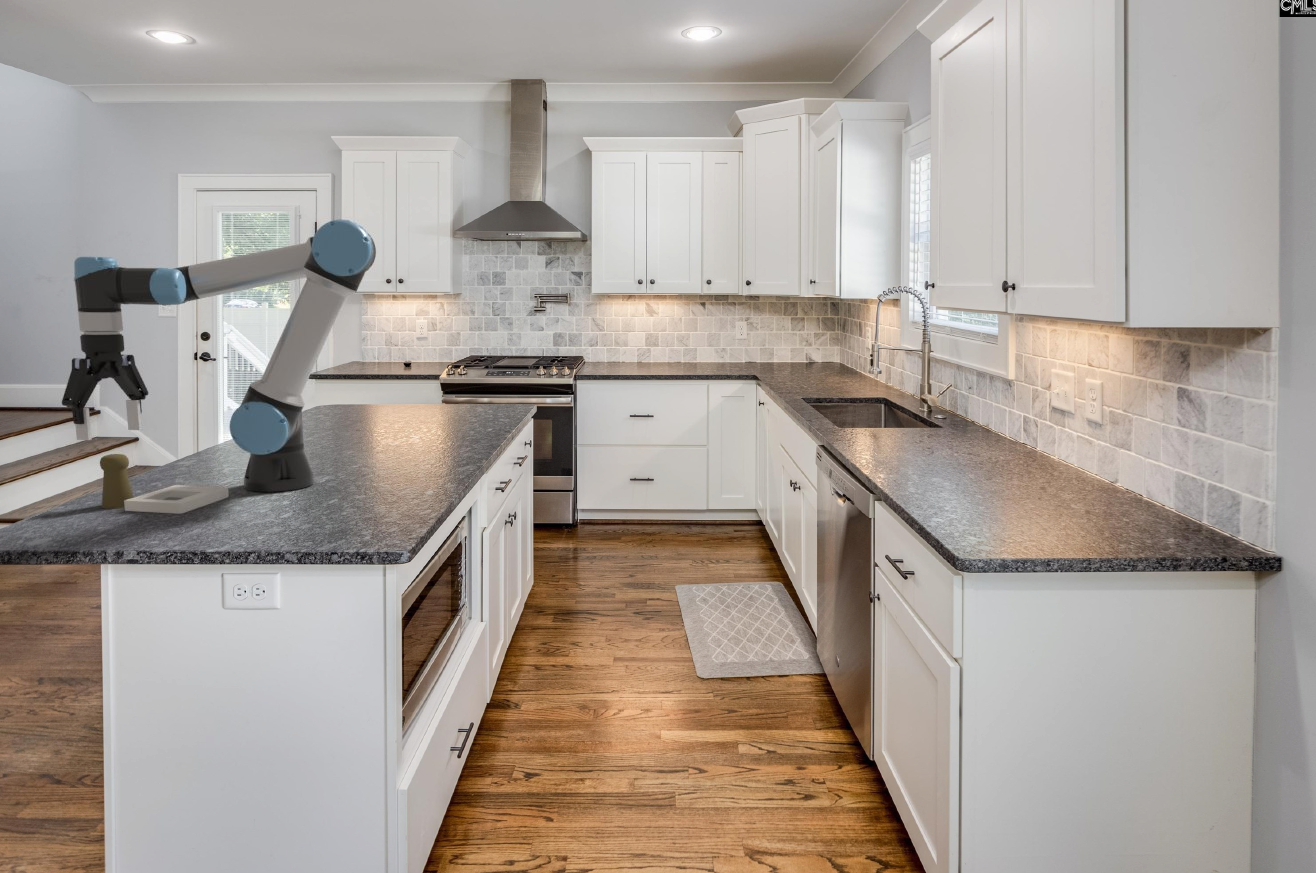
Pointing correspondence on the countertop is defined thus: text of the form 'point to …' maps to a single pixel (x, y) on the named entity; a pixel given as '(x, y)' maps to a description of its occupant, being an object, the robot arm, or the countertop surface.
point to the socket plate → (176, 499)
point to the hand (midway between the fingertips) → (110, 434)
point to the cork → (115, 481)
